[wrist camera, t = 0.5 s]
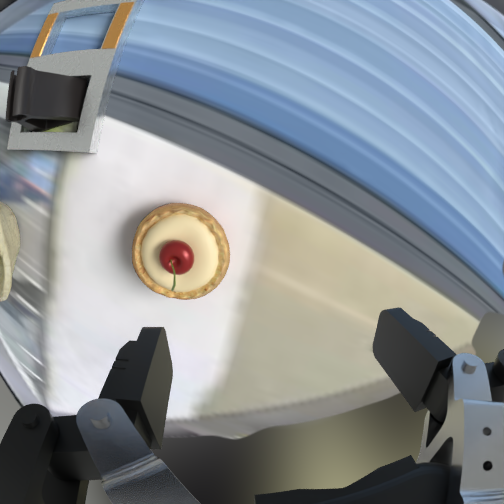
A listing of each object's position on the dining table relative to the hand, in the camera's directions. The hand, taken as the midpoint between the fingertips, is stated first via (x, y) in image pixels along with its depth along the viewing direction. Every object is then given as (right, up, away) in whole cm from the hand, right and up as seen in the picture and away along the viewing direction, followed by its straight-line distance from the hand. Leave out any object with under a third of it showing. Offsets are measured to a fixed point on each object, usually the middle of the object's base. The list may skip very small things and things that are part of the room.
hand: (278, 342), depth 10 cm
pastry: (-10, +4, +27) cm, 29 cm away
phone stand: (-28, +24, +19) cm, 41 cm away
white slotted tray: (-27, +29, +17) cm, 43 cm away
